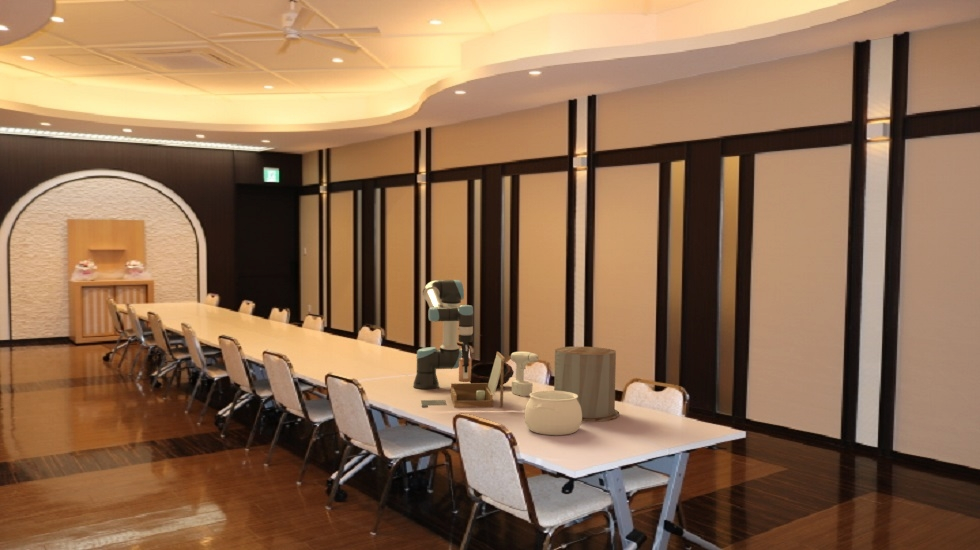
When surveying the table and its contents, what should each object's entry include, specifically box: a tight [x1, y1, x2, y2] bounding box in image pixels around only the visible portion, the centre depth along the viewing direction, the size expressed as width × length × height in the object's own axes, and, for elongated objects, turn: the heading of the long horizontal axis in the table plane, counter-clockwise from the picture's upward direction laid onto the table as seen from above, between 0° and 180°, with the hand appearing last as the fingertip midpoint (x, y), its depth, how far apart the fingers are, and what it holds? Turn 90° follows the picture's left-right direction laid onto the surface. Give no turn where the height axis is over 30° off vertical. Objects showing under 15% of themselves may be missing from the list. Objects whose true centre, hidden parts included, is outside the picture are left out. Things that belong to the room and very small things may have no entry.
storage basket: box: [553, 346, 620, 423], centre depth 377 cm, size 35×35×32 cm
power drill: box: [510, 351, 540, 397], centre depth 424 cm, size 8×24×25 cm, turn 31°
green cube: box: [476, 390, 485, 401], centre depth 398 cm, size 5×5×6 cm
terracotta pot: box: [458, 357, 472, 383], centre depth 397 cm, size 7×7×12 cm
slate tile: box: [420, 399, 448, 408], centre depth 395 cm, size 13×13×1 cm
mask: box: [469, 361, 514, 388], centre depth 448 cm, size 18×14×30 cm
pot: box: [524, 390, 582, 436], centre depth 343 cm, size 29×26×16 cm
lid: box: [488, 351, 506, 395], centre depth 399 cm, size 23×20×1 cm
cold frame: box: [450, 359, 505, 409], centre depth 396 cm, size 26×25×26 cm
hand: (464, 377), depth 397 cm, fingers closed on terracotta pot, 7 cm apart
